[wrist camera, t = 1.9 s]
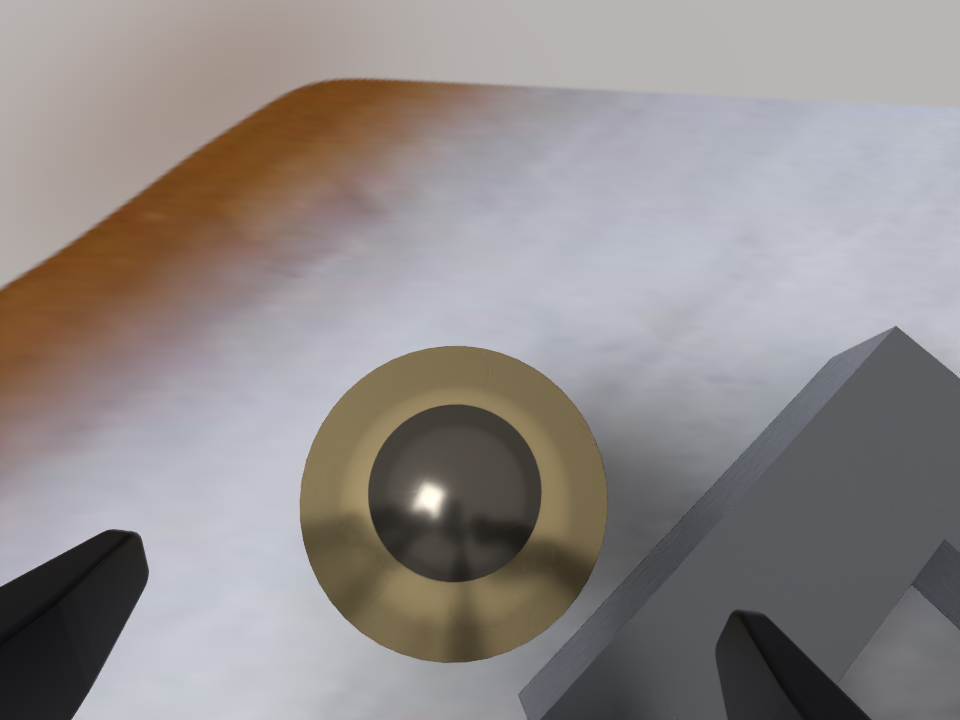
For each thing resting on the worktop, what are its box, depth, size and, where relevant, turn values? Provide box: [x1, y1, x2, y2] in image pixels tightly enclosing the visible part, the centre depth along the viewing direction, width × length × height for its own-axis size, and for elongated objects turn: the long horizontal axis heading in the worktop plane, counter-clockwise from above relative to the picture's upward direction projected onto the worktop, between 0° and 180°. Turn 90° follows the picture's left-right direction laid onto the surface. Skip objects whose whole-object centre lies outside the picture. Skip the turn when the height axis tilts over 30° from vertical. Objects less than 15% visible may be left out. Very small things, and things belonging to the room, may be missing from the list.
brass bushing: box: [300, 346, 608, 663], centre depth 13 cm, size 5×5×9 cm
